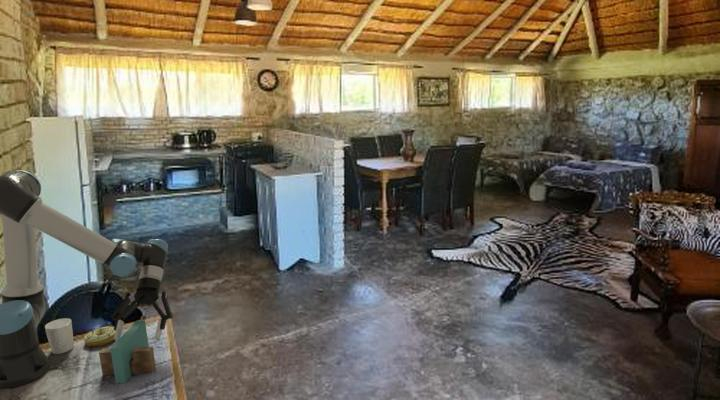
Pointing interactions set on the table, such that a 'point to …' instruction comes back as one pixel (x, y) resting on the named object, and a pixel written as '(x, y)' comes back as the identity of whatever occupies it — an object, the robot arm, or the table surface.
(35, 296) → the robot arm
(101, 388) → the table surface
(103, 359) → the walnut slotted plate
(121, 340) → the teal upright panel
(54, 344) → the white cup
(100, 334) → the decorated donut
